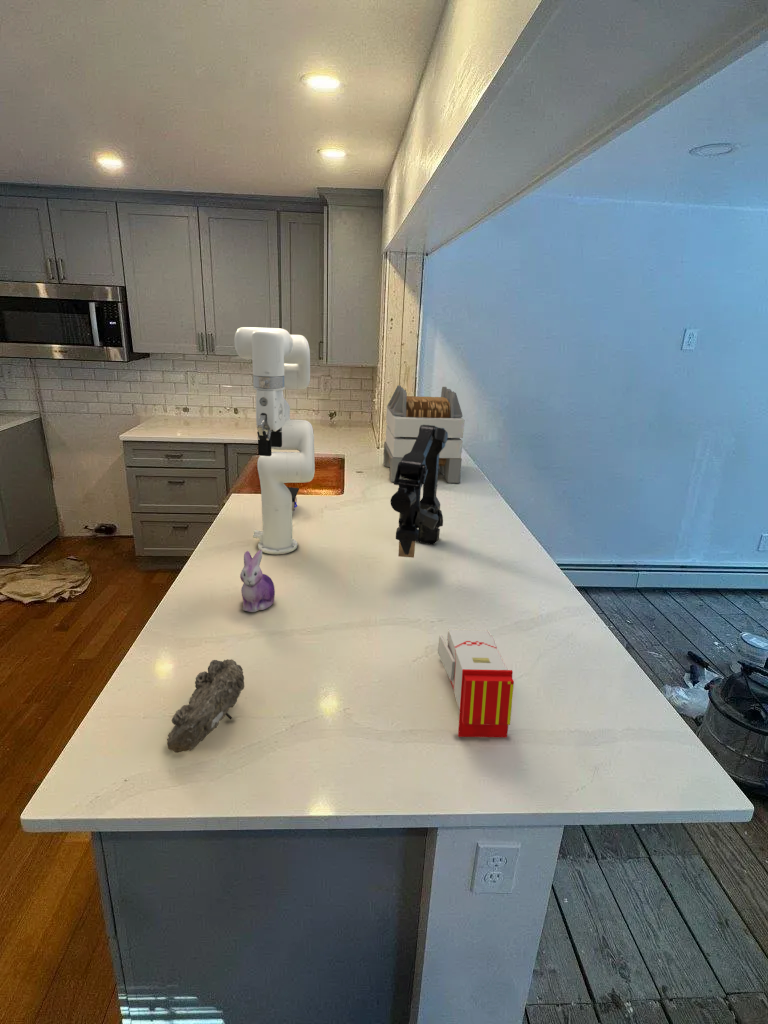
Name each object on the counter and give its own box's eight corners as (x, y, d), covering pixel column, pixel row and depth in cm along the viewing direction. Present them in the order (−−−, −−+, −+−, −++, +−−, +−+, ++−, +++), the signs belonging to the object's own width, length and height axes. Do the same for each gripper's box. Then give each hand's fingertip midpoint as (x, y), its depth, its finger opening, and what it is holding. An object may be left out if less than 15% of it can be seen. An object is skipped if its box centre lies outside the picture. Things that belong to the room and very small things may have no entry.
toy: (488, 613, 130) (523, 677, 101) (484, 667, 133) (517, 744, 104) (435, 612, 130) (455, 676, 101) (432, 666, 133) (451, 743, 103)
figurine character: (295, 520, 211) (299, 503, 225) (294, 502, 208) (299, 485, 221) (277, 519, 211) (282, 502, 224) (276, 501, 208) (282, 485, 221)
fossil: (192, 660, 117) (244, 628, 112) (224, 691, 120) (276, 661, 115) (142, 746, 98) (202, 712, 93) (182, 779, 101) (242, 748, 96)
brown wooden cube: (413, 557, 167) (414, 542, 165) (398, 556, 167) (399, 541, 166) (414, 552, 171) (415, 537, 169) (399, 550, 171) (400, 536, 170)
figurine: (245, 617, 142) (242, 562, 137) (235, 598, 151) (232, 547, 146) (281, 609, 147) (280, 556, 142) (270, 592, 155) (268, 541, 150)
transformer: (382, 463, 289) (386, 382, 275) (445, 464, 293) (451, 384, 279) (390, 482, 257) (394, 392, 243) (460, 483, 261) (468, 394, 247)
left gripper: (274, 388, 130) (275, 460, 136) (292, 379, 147) (293, 444, 152) (242, 386, 131) (245, 458, 137) (264, 378, 147) (266, 442, 153)
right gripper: (437, 514, 154) (433, 566, 159) (438, 493, 172) (434, 541, 177) (396, 511, 155) (394, 563, 160) (401, 491, 172) (399, 538, 178)
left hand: (270, 451), depth 145 cm, fingers open, 9 cm apart
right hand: (407, 551), depth 169 cm, fingers closed on brown wooden cube, 4 cm apart
